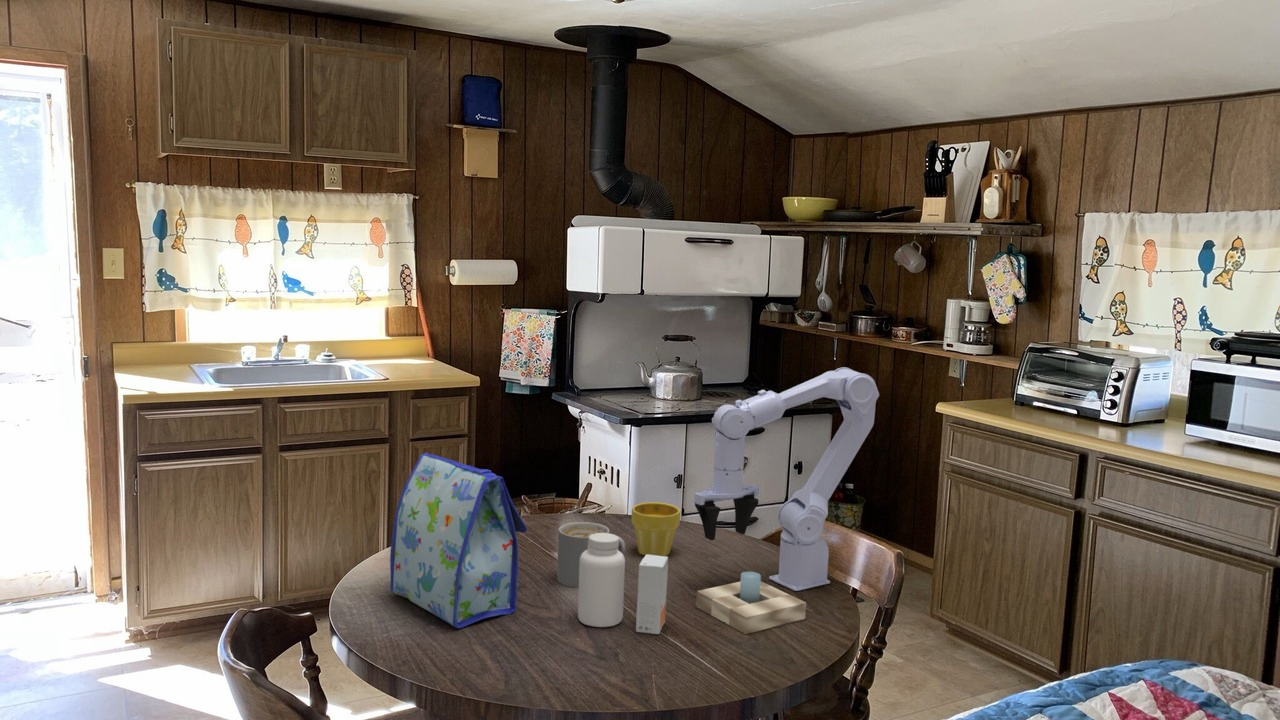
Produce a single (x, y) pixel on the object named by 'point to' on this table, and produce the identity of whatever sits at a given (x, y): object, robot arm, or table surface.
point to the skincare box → (651, 594)
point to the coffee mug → (576, 549)
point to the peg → (750, 587)
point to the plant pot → (655, 527)
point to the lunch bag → (456, 542)
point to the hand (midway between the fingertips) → (725, 535)
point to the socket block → (751, 607)
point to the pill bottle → (601, 582)
